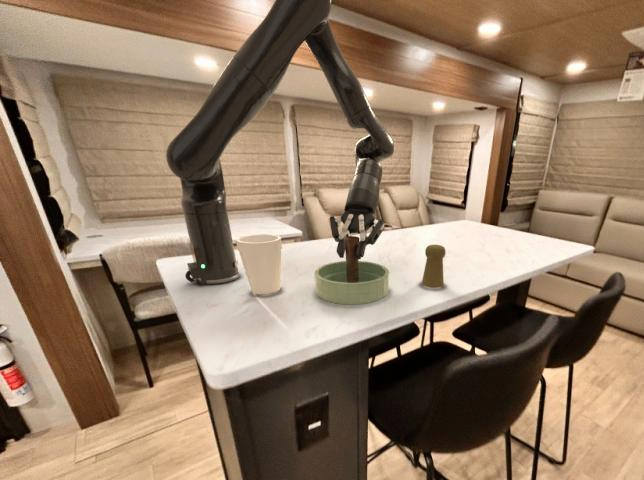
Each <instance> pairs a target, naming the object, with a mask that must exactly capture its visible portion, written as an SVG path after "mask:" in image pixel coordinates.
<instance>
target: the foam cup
mask: <svg viewBox="0 0 644 480" xmlns="http://www.w3.org/2000/svg"><path fill="white" fill-rule="evenodd" d="M235 244H236V249H237V252H238V253H239V256H240V260H241V262H242V265H243V268H244V271H245V275H246V277H247V280H248V281H247V282H248V284H249V287H250V291H251V293H252V295H254V296H255V297H257V296H258V295H270V294H274V293H277V292H279V291H280V290H281V289H282V288H281V286H282V284H281V282H282V279H281V278H282V249H283V243H282V236H280V235H278V234H270V233H257V234H248V235H242V236H239V237H236V239H235Z"/></svg>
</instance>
